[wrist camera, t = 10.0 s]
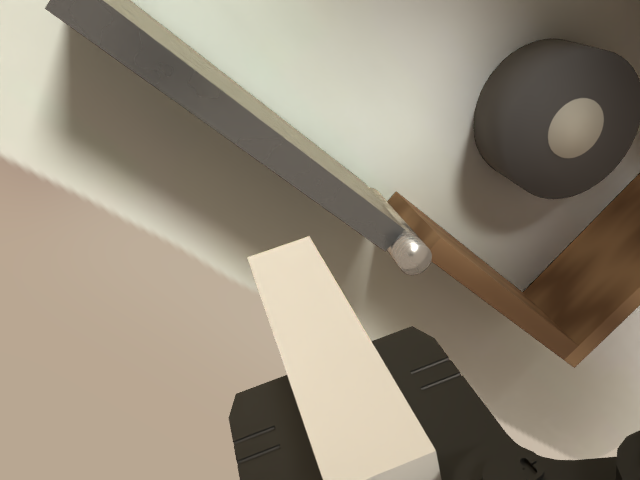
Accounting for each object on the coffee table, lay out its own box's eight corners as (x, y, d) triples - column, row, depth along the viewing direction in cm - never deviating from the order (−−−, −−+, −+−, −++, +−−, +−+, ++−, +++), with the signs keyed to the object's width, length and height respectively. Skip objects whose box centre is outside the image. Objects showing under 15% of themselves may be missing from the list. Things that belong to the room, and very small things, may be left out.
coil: (550, 6, 30) (595, 13, 27) (621, 99, 34) (668, 115, 31) (446, 124, 32) (477, 143, 29) (525, 200, 36) (560, 225, 32)
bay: (631, -80, 29) (734, -85, 24) (738, 91, 36) (836, 116, 31) (382, 207, 33) (423, 255, 28) (520, 312, 40) (574, 367, 35)
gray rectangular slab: (67, -4, 24) (37, 14, 18) (88, -36, 24) (65, -28, 18) (368, 218, 33) (415, 280, 27) (386, 197, 33) (438, 255, 27)
